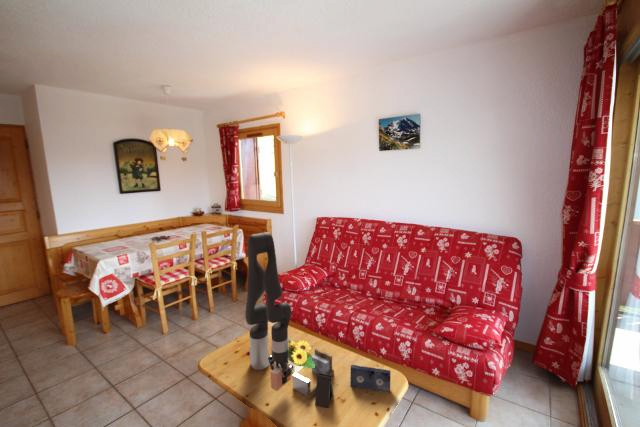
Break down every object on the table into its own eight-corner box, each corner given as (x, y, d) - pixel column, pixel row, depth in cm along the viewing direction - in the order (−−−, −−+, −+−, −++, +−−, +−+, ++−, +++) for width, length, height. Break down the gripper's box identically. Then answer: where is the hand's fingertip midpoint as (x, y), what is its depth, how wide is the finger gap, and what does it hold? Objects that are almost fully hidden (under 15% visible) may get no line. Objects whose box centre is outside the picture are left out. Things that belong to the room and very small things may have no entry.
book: (271, 387, 135) (270, 371, 133) (285, 376, 142) (284, 360, 140) (276, 391, 133) (276, 374, 131) (290, 379, 140) (290, 363, 138)
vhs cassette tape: (390, 389, 141) (390, 370, 139) (390, 394, 138) (390, 374, 137) (351, 382, 146) (351, 363, 144) (350, 386, 143) (350, 367, 142)
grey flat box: (292, 388, 143) (292, 374, 142) (295, 385, 144) (295, 372, 143) (307, 396, 138) (307, 382, 136) (310, 393, 139) (310, 380, 138)
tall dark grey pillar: (290, 389, 142) (290, 369, 141) (316, 366, 158) (316, 348, 157) (309, 399, 136) (308, 379, 134) (334, 374, 152) (333, 356, 150)
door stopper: (328, 408, 131) (327, 383, 129) (314, 405, 132) (314, 380, 131) (333, 393, 139) (333, 369, 137) (321, 390, 141) (320, 367, 139)
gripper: (262, 345, 135) (263, 379, 138) (286, 357, 127) (287, 393, 130) (274, 337, 141) (275, 370, 144) (297, 348, 133) (298, 382, 136)
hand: (281, 380), depth 137 cm, fingers closed on book, 3 cm apart
